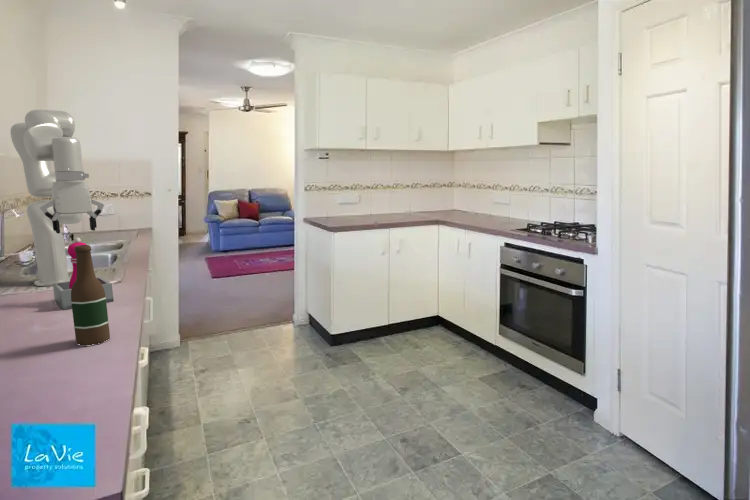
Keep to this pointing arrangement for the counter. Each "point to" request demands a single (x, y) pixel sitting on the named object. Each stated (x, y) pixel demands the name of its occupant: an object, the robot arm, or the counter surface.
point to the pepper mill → (74, 260)
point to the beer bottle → (88, 302)
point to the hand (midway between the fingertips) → (75, 231)
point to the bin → (64, 293)
